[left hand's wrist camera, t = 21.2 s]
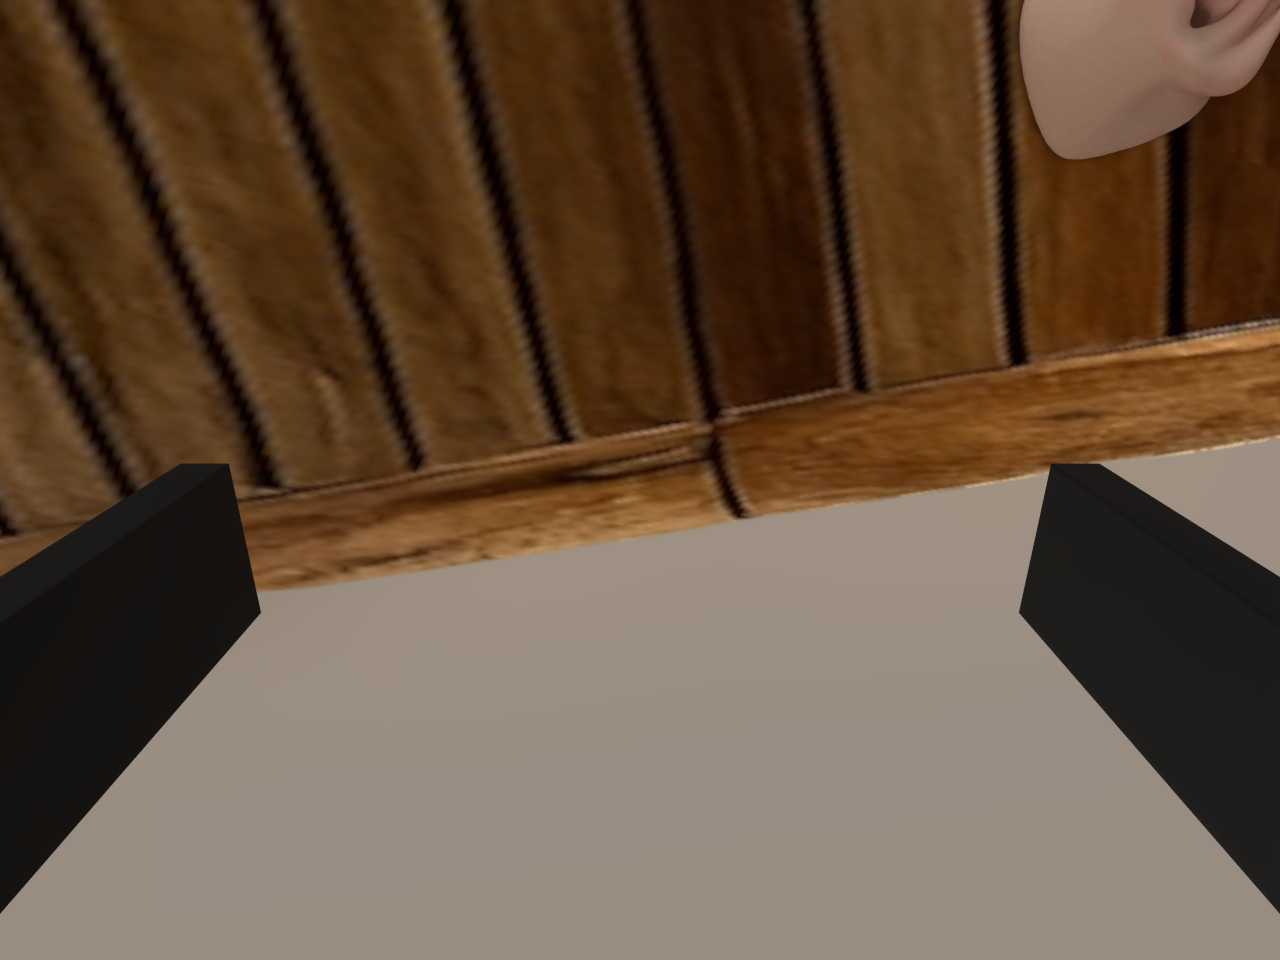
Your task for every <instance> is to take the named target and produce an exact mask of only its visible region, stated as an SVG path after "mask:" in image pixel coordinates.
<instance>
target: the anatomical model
mask: <svg viewBox="0 0 1280 960" xmlns="http://www.w3.org/2000/svg"><path fill="white" fill-rule="evenodd" d="M1279 32H1280V0H1024V3H1023V8H1022V14H1021V20H1020V57H1021V63H1022V70H1023V76H1024V81H1025V85H1026V89H1027V93H1028V97H1029V101H1030V104H1031V107H1032V110H1033V113H1034V116H1035V119H1036V122H1037V124H1038V126H1039V129H1040V131H1041V133H1042V135H1043V137H1044V139H1045V141H1046V143H1047V144H1048V145H1049V147H1050V148H1051V149H1052V150H1053V151H1054V152H1055V153H1056V154H1058V155H1059V156H1061V157H1063V158H1067V159H1086V158H1092V157H1098V156H1102V155H1106V154H1109V153H1113V152H1116V151H1120V150H1124V149H1127V148H1131V147H1134V146H1137V145H1140V144H1143V143H1145V142H1148V141H1150V140H1152V139H1154V138H1157V137H1159V136H1161V135H1163V134H1165V133H1168V132H1170V131H1172V130H1174V129H1176V128H1178V127H1180V126H1181V125H1183V124H1184V123H1186V122H1188V121H1189V120H1190V119H1191V118H1192V117H1194V116H1195V115H1196V114H1197V113H1198V112H1199V111H1200V110H1201V109H1202V107H1203V106H1204V105H1205V104H1206V102H1207V101H1208V100H1209V98H1210V97H1211V96H1224V95H1228V94H1231V93H1233V92H1235V91H1238V90H1239V89H1241V88H1242V87H1244V86H1245V85H1246V84H1248V83H1249V82H1250V80H1251V79H1252V78H1253V77H1254V76H1255V74H1256V73H1257V71H1258V70H1259V68H1260V67H1261V65H1262V64H1263V62H1264V60H1265V58H1266V56H1267V54H1268V52H1269V51H1270V49H1271V47H1272V45H1273V43H1274V41H1275V40H1276V38H1277V36H1278V34H1279Z"/></svg>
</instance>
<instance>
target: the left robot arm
mask: <svg viewBox="0 0 1280 960" xmlns="http://www.w3.org/2000/svg"><path fill="white" fill-rule="evenodd" d="M260 613H261V611H260V606H259V601H258V597H257V592H256V587H255V583H254V578H253V574H252V569H251V564H250V560H249V555H248V550H247V546H246V541H245V537H244V532H243V527H242V523H241V518H240V514H239V509H238V504H237V500H236V495H235V490H234V486H233V481H232V477H231V472H230V467H229V464H179V465H178V466H176V467H175V468H173V469H171V470H170V471H168V472H167V473H165V474H163V475H162V476H160V477H159V478H157V479H156V480H154V481H152V482H151V483H149V484H148V485H146V486H144V487H143V488H141V489H140V490H138V491H136V492H135V493H133V494H132V495H130V496H128V497H127V498H125V499H124V500H122V501H120V502H119V503H117V504H116V505H114V506H113V507H111V508H109V509H108V510H106V511H105V512H103V513H101V514H100V515H98V516H97V517H95V518H93V519H92V520H90V521H89V522H87V523H85V524H84V525H82V526H81V527H79V528H77V529H76V530H74V531H73V532H71V533H70V534H68V535H66V536H65V537H63V538H62V539H60V540H58V541H57V542H55V543H54V544H52V545H50V546H49V547H47V548H46V549H44V550H42V551H41V552H39V553H38V554H36V555H34V556H33V557H31V558H30V559H28V560H27V561H25V562H23V563H22V564H20V565H19V566H17V567H15V568H14V569H12V570H11V571H9V572H7V573H6V574H4V575H3V576H1V577H0V913H1V912H2V911H3V910H4V909H5V907H6V906H7V905H8V904H9V903H10V902H11V901H12V899H13V898H14V897H15V896H16V895H17V894H18V892H19V891H20V890H21V889H22V888H23V887H24V886H25V884H26V883H27V882H28V881H29V880H30V879H31V877H32V876H33V875H34V874H35V873H36V872H37V871H38V869H39V868H40V867H41V866H42V865H43V864H44V862H45V861H46V860H47V859H48V858H49V857H50V855H51V854H52V853H53V852H54V851H55V850H56V849H57V847H58V846H59V845H60V844H61V843H62V842H63V841H64V839H65V838H66V837H67V836H68V835H69V834H70V832H71V831H72V830H73V829H74V828H75V827H76V826H77V824H78V823H79V822H80V821H81V820H82V819H83V817H84V816H85V815H86V814H87V813H88V812H89V811H90V809H91V808H92V807H93V806H94V805H95V804H96V802H97V801H98V800H99V799H100V798H101V797H102V796H103V794H104V793H105V792H106V791H107V790H108V789H109V787H110V786H111V785H112V784H113V783H114V782H115V781H116V779H117V778H118V777H119V776H120V775H121V774H122V772H123V771H124V770H125V769H126V768H127V767H128V766H129V764H130V763H131V762H132V761H133V760H134V759H135V757H136V756H137V755H138V754H139V753H140V752H141V751H142V749H143V748H144V747H145V746H146V745H147V744H148V742H149V741H150V740H151V739H152V738H153V737H154V735H155V734H156V733H157V732H158V731H159V730H160V729H161V727H162V726H163V725H164V724H165V723H166V722H167V721H168V719H169V718H170V717H171V716H172V715H173V714H174V712H175V711H176V710H177V709H178V708H179V707H180V705H181V704H182V703H183V702H184V701H185V700H186V699H187V697H188V696H189V695H190V694H191V693H192V692H193V690H194V689H195V688H196V687H197V686H198V685H199V684H200V682H201V681H202V680H203V679H204V678H205V677H206V676H207V674H208V673H209V672H210V671H211V670H212V669H213V667H214V666H215V665H216V664H217V663H218V662H219V661H220V659H221V658H222V657H223V656H224V655H225V654H226V652H227V651H228V650H229V649H230V648H231V647H232V646H233V644H234V643H235V642H236V641H237V640H238V639H239V637H240V636H241V635H242V634H243V633H244V632H245V631H246V629H247V628H248V627H249V626H250V625H251V624H252V622H253V621H254V620H255V619H256V618H257V617H258V615H259V614H260ZM1019 613H1020V614H1021V616H1022V617H1023V618H1024V619H1025V620H1026V621H1027V622H1028V624H1029V625H1030V626H1031V627H1032V628H1033V629H1034V631H1035V632H1036V633H1037V634H1038V635H1039V636H1040V637H1041V639H1042V640H1043V641H1044V642H1045V643H1046V644H1047V646H1048V647H1049V648H1050V649H1051V650H1052V651H1053V652H1054V654H1055V655H1056V656H1057V657H1058V658H1059V659H1060V661H1061V662H1062V663H1063V664H1064V665H1065V666H1066V667H1067V669H1068V670H1069V671H1070V672H1071V673H1072V674H1073V676H1074V677H1075V678H1076V679H1077V680H1078V681H1079V682H1080V684H1081V685H1082V686H1083V687H1084V688H1085V689H1086V691H1087V692H1088V693H1089V694H1090V695H1091V696H1092V697H1093V699H1094V700H1095V701H1096V702H1097V703H1098V704H1099V706H1100V707H1101V708H1102V709H1103V710H1104V711H1105V712H1106V714H1107V715H1108V716H1109V717H1110V718H1111V719H1112V720H1113V722H1114V723H1115V724H1116V725H1117V726H1118V727H1119V729H1120V730H1121V731H1122V732H1123V733H1124V734H1125V735H1126V737H1127V738H1128V739H1129V740H1130V741H1131V742H1132V744H1133V745H1134V746H1135V747H1136V748H1137V749H1138V751H1139V752H1140V753H1141V754H1142V755H1143V756H1144V757H1145V759H1146V760H1147V761H1148V762H1149V763H1150V764H1151V766H1152V767H1153V768H1154V769H1155V770H1156V771H1157V772H1158V774H1159V775H1160V776H1161V777H1162V778H1163V779H1164V781H1165V782H1166V783H1167V784H1168V785H1169V786H1170V787H1171V789H1172V790H1173V791H1174V792H1175V793H1176V794H1177V796H1178V797H1179V798H1180V799H1181V800H1182V801H1183V802H1184V804H1185V805H1186V806H1187V807H1188V808H1189V809H1190V811H1191V812H1192V813H1193V814H1194V815H1195V816H1196V817H1197V819H1198V820H1199V821H1200V822H1201V823H1202V824H1203V826H1204V827H1205V828H1206V829H1207V830H1208V831H1209V832H1210V834H1211V835H1212V836H1213V837H1214V838H1215V839H1216V841H1217V842H1218V843H1219V844H1220V845H1221V846H1222V847H1223V849H1224V850H1225V851H1226V852H1227V853H1228V854H1229V856H1230V857H1231V858H1232V859H1233V860H1234V861H1235V862H1236V864H1237V865H1238V866H1239V867H1240V868H1241V869H1242V871H1243V872H1244V873H1245V874H1246V875H1247V876H1248V877H1249V879H1250V880H1251V881H1252V882H1253V883H1254V884H1255V886H1256V887H1257V888H1258V889H1259V890H1260V891H1261V892H1262V894H1263V895H1264V896H1265V897H1266V898H1267V899H1268V901H1269V902H1270V903H1271V904H1272V905H1273V906H1274V907H1275V909H1276V910H1277V911H1278V912H1279V913H1280V577H1279V576H1277V575H1276V574H1274V573H1273V572H1271V571H1269V570H1268V569H1266V568H1265V567H1263V566H1261V565H1260V564H1258V563H1257V562H1255V561H1253V560H1252V559H1250V558H1249V557H1247V556H1246V555H1244V554H1242V553H1241V552H1239V551H1238V550H1236V549H1234V548H1233V547H1231V546H1230V545H1228V544H1226V543H1225V542H1223V541H1222V540H1220V539H1218V538H1217V537H1215V536H1214V535H1212V534H1210V533H1209V532H1207V531H1206V530H1204V529H1202V528H1201V527H1199V526H1198V525H1196V524H1195V523H1193V522H1191V521H1190V520H1188V519H1187V518H1185V517H1183V516H1182V515H1180V514H1179V513H1177V512H1175V511H1174V510H1172V509H1171V508H1169V507H1167V506H1166V505H1164V504H1163V503H1161V502H1160V501H1158V500H1156V499H1155V498H1153V497H1151V496H1150V495H1148V494H1147V493H1145V492H1144V491H1142V490H1140V489H1139V488H1137V487H1136V486H1134V485H1132V484H1131V483H1129V482H1128V481H1126V480H1124V479H1123V478H1121V477H1120V476H1118V475H1116V474H1115V473H1113V472H1112V471H1110V470H1109V469H1107V468H1105V467H1104V466H1102V465H1101V464H1051V467H1050V472H1049V477H1048V481H1047V486H1046V490H1045V495H1044V500H1043V504H1042V509H1041V514H1040V518H1039V523H1038V527H1037V532H1036V537H1035V541H1034V546H1033V551H1032V555H1031V560H1030V564H1029V569H1028V574H1027V578H1026V583H1025V587H1024V592H1023V597H1022V601H1021V606H1020V611H1019Z"/></svg>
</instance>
